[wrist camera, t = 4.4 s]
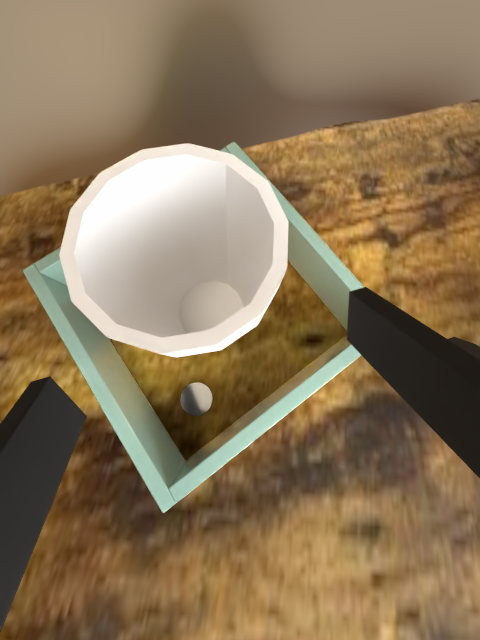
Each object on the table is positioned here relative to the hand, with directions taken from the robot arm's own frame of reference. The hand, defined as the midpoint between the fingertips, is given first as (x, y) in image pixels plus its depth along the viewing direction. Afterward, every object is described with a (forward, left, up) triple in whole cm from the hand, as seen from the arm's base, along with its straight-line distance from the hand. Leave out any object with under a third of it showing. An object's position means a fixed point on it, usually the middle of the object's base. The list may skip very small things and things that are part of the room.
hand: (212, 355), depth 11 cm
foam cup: (+2, +5, -11) cm, 12 cm away
